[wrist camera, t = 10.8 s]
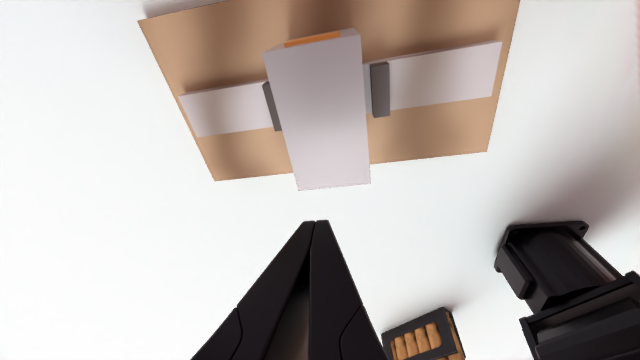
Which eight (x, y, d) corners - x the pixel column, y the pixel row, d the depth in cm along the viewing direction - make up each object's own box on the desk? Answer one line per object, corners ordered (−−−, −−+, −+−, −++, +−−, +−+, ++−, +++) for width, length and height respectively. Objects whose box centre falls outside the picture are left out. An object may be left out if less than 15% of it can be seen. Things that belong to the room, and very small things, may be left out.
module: (353, 24, 15) (360, 29, 9) (362, 136, 18) (370, 183, 13) (287, 37, 15) (260, 49, 10) (309, 143, 19) (298, 190, 14)
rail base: (522, -64, 13) (566, -84, 10) (480, 145, 19) (501, 165, 17) (147, 20, 16) (112, 21, 14) (219, 175, 23) (204, 195, 20)
